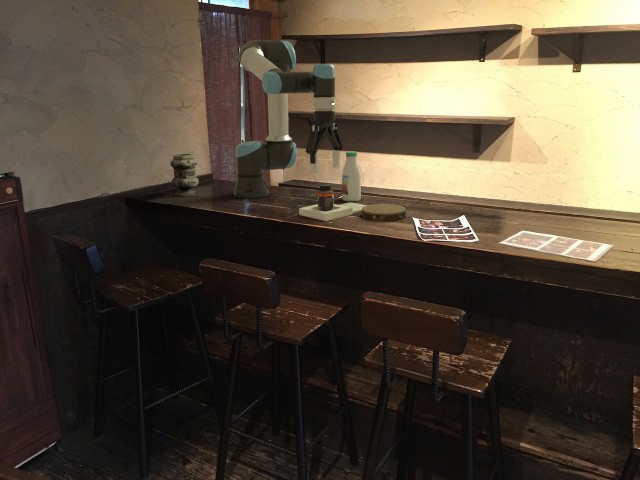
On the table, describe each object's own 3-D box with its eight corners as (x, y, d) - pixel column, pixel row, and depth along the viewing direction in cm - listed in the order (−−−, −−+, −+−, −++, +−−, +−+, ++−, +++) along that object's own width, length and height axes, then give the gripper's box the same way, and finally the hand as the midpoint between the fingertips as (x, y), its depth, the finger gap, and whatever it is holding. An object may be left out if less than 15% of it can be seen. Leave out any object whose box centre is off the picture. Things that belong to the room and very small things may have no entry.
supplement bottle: (337, 214, 197) (337, 184, 194) (326, 217, 193) (326, 186, 190) (325, 212, 201) (324, 182, 198) (314, 214, 197) (314, 184, 194)
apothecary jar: (196, 196, 234) (192, 155, 229) (169, 196, 234) (165, 156, 229) (202, 191, 246) (199, 152, 241) (176, 191, 246) (173, 152, 241)
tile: (329, 208, 206) (329, 207, 206) (350, 203, 214) (350, 202, 214) (352, 213, 198) (352, 211, 198) (373, 208, 206) (373, 206, 206)
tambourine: (371, 210, 204) (371, 202, 203) (411, 213, 197) (411, 205, 196) (355, 219, 190) (355, 211, 190) (397, 223, 184) (397, 215, 183)
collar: (299, 214, 197) (299, 208, 196) (326, 208, 206) (325, 202, 206) (325, 221, 187) (325, 214, 187) (352, 214, 197) (352, 207, 196)
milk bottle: (360, 198, 225) (361, 150, 220) (360, 201, 218) (360, 153, 212) (342, 197, 226) (342, 150, 220) (341, 201, 218) (341, 153, 213)
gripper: (311, 111, 174) (313, 175, 180) (352, 108, 194) (352, 166, 200) (294, 111, 179) (296, 174, 184) (335, 109, 198) (336, 165, 204)
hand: (325, 170), depth 192 cm, fingers open, 13 cm apart
